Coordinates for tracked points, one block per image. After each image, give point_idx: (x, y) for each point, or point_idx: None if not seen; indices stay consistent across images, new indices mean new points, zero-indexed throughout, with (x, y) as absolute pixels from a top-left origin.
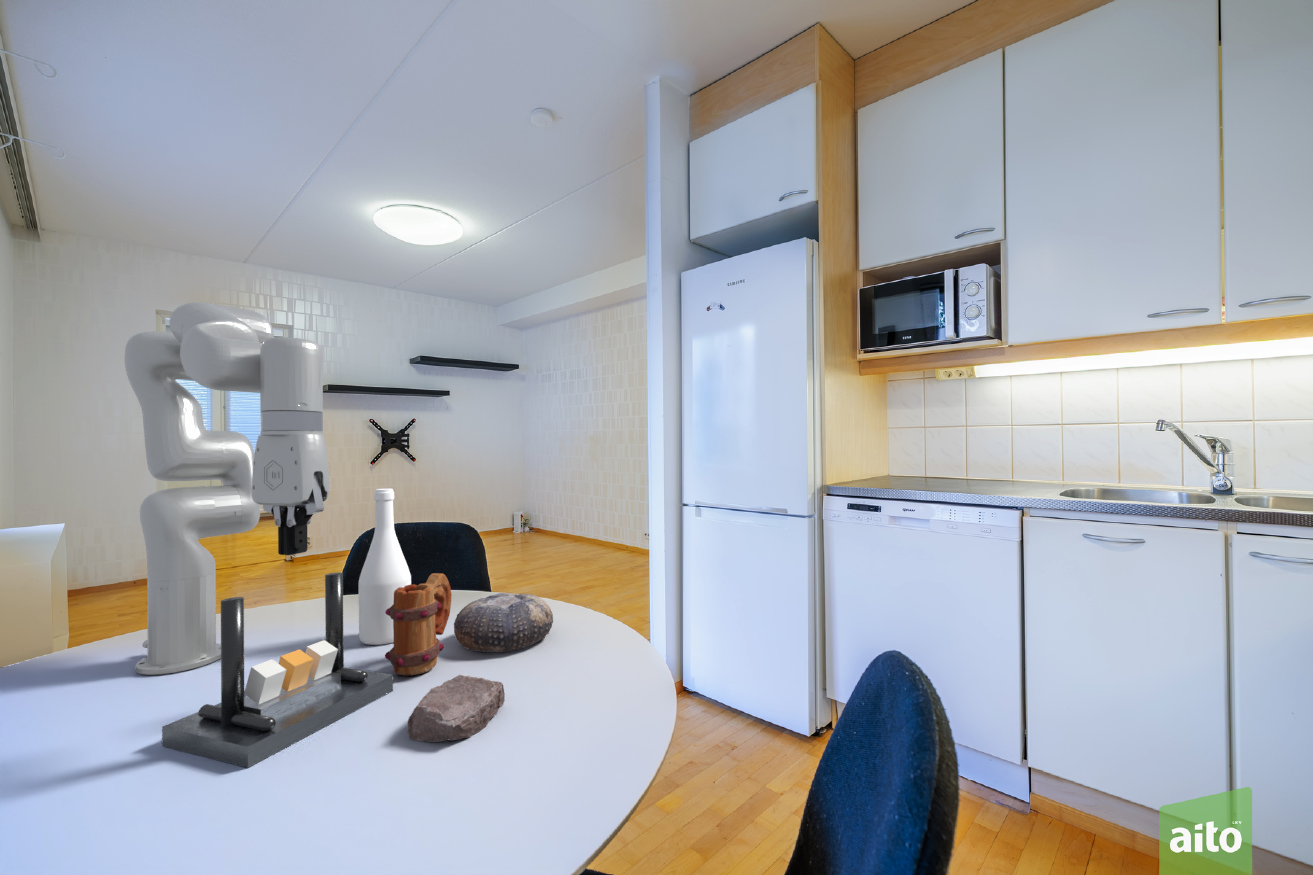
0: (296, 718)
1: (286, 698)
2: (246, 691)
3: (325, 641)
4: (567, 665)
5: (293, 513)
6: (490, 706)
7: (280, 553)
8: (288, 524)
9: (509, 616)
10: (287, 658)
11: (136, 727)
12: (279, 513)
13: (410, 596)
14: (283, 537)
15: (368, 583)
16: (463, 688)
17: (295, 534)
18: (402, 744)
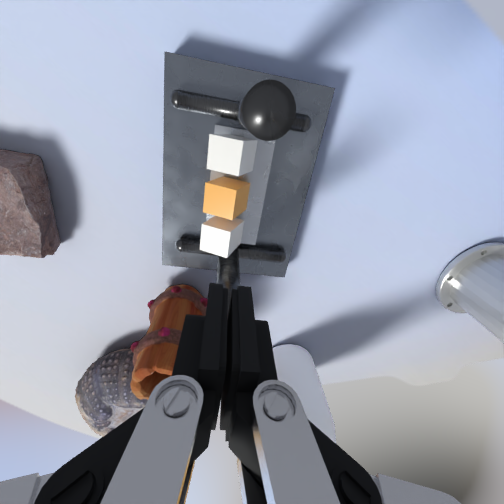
0: (175, 138)
1: None
2: (252, 139)
3: (223, 256)
4: (20, 337)
5: (122, 466)
6: None
7: (241, 286)
8: (193, 389)
9: (98, 391)
10: (225, 191)
11: (398, 128)
12: (269, 462)
13: (143, 363)
14: (225, 330)
15: (306, 413)
16: (8, 230)
17: (178, 355)
18: (35, 142)
